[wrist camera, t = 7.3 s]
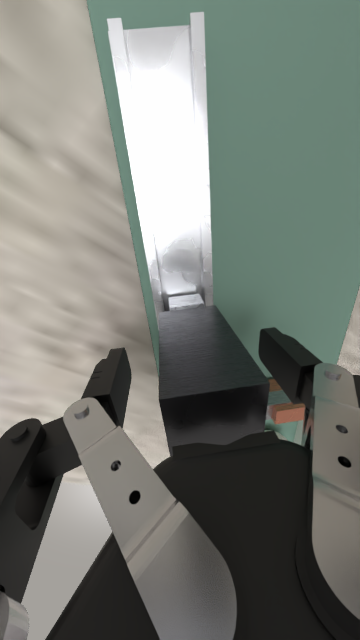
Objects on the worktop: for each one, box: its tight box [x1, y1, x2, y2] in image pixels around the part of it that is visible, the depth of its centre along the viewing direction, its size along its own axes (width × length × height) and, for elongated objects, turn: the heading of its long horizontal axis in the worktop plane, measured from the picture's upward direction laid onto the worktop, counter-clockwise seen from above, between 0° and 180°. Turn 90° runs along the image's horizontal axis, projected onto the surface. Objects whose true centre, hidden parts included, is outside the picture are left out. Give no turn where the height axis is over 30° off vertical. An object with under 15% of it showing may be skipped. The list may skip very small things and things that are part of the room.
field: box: [87, 0, 360, 442], centre depth 18 cm, size 18×41×1 cm, turn 6°
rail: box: [107, 12, 213, 330], centre depth 15 cm, size 4×28×2 cm, turn 6°
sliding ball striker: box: [159, 294, 305, 456], centre depth 14 cm, size 12×12×10 cm
